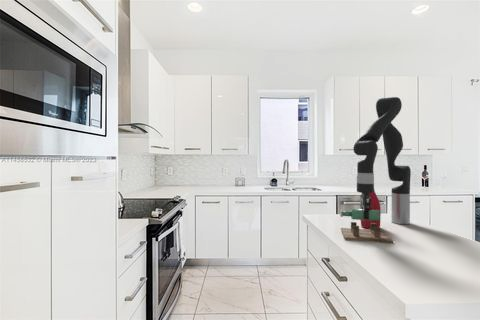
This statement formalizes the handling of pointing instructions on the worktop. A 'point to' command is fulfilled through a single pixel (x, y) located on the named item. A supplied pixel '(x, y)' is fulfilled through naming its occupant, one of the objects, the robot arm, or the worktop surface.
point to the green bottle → (361, 214)
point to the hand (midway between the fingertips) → (365, 217)
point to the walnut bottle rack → (365, 234)
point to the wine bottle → (374, 206)
